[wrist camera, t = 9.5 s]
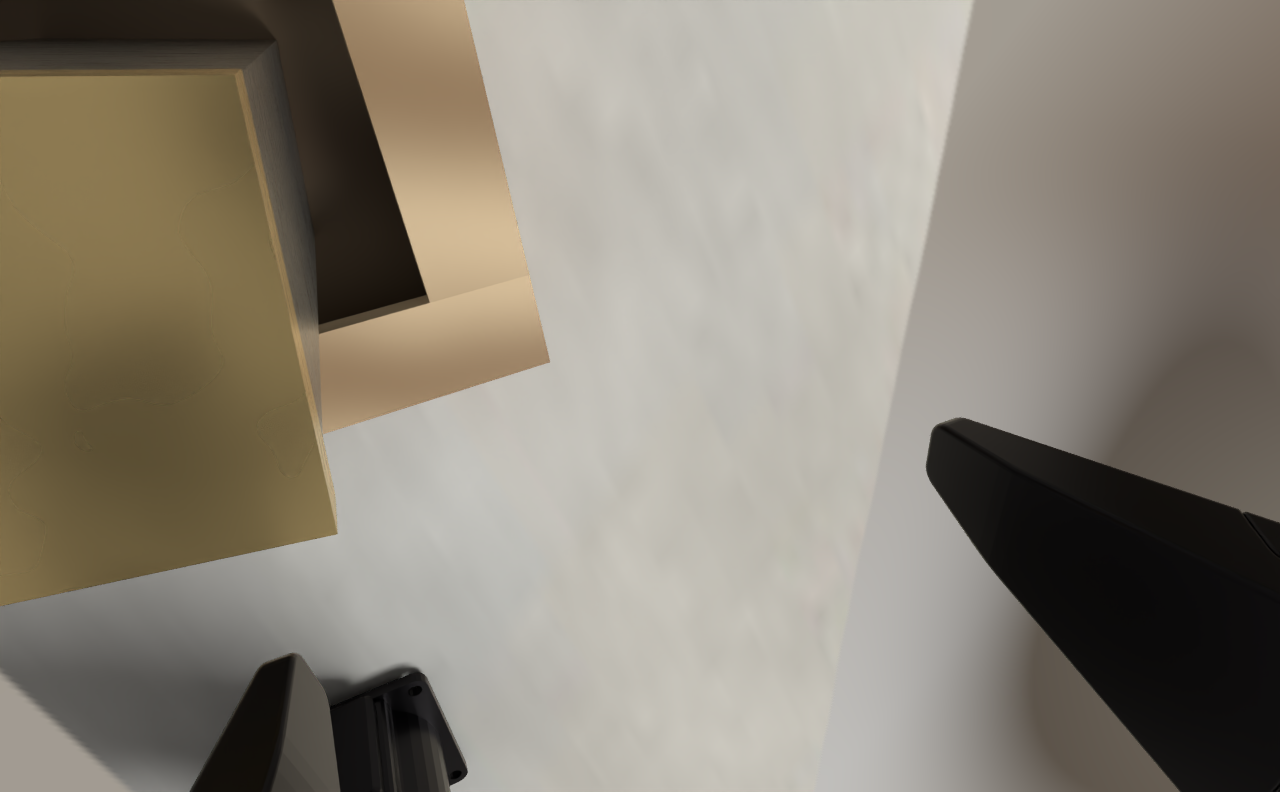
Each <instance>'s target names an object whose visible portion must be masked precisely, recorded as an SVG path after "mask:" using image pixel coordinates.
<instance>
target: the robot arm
mask: <svg viewBox="0 0 1280 792" xmlns="http://www.w3.org/2000/svg"><path fill="white" fill-rule="evenodd" d="M926 471H927V475H928V477H929V480H930V482H931V483H932V485H933V486H934V488H935V489H936V491H937V492H938V494H939V495H940V497H941V498H942V499H943V501H944V502H945V504H946V505H947V506H948V508H949V509H950V511H951V513H952V514H953V515H954V517H955V518H956V520H957V521H958V523H959V524H960V526H961V527H962V529H963V530H964V531H965V533H966V534H967V536H968V537H969V539H970V540H971V542H972V543H973V545H974V546H975V547H976V549H977V550H978V552H979V553H980V554H981V556H982V557H983V559H984V560H985V561H986V563H987V564H988V565H989V566H990V568H991V569H992V570H993V571H994V573H995V574H996V575H997V576H998V578H999V579H1000V580H1001V581H1002V582H1003V584H1004V585H1005V586H1006V587H1007V588H1008V589H1009V591H1010V592H1011V593H1012V594H1013V595H1014V597H1015V598H1016V599H1017V600H1018V601H1019V602H1020V604H1021V605H1022V606H1023V607H1024V608H1025V610H1026V611H1027V612H1028V613H1029V614H1030V615H1031V617H1032V618H1033V619H1034V620H1035V621H1036V622H1037V624H1038V625H1039V626H1040V627H1041V628H1042V629H1043V630H1044V632H1045V633H1046V634H1047V636H1048V637H1049V638H1050V639H1051V640H1052V641H1053V643H1054V644H1055V645H1056V646H1057V647H1058V648H1059V650H1060V651H1061V652H1062V653H1063V654H1064V656H1065V657H1066V658H1067V659H1068V660H1069V661H1070V663H1071V664H1072V665H1073V666H1074V667H1075V668H1076V670H1077V671H1078V672H1079V673H1080V674H1081V676H1082V677H1083V678H1084V679H1085V680H1086V682H1087V683H1088V684H1089V685H1090V686H1091V687H1092V689H1093V690H1094V691H1095V692H1096V693H1097V695H1098V696H1099V697H1100V698H1101V699H1102V700H1103V702H1104V703H1105V704H1106V705H1107V706H1108V707H1109V709H1110V710H1111V711H1112V712H1113V713H1114V715H1115V716H1116V717H1117V718H1118V719H1119V720H1120V721H1121V723H1122V724H1123V725H1124V726H1125V727H1126V729H1127V730H1128V731H1129V732H1130V733H1131V735H1132V736H1133V737H1134V738H1135V739H1136V740H1137V742H1138V743H1139V744H1140V745H1141V746H1142V748H1143V749H1144V750H1145V751H1146V752H1147V753H1148V755H1149V756H1150V757H1151V758H1152V759H1153V761H1154V762H1155V763H1156V764H1157V765H1158V767H1159V768H1160V769H1161V770H1162V771H1163V772H1164V774H1165V775H1166V776H1167V777H1168V778H1169V779H1170V781H1171V782H1172V783H1173V784H1174V785H1175V786H1176V788H1177V789H1178V790H1179V791H1180V792H1280V523H1279V522H1276V521H1273V520H1270V519H1267V518H1264V517H1261V516H1258V515H1255V514H1252V513H1249V512H1243V513H1242V512H1241V511H1240V510H1239V509H1236V508H1234V507H1231V506H1227V505H1224V504H1221V503H1219V502H1215V501H1212V500H1210V499H1206V498H1203V497H1200V496H1197V495H1195V494H1191V493H1188V492H1185V491H1182V490H1179V489H1176V488H1173V487H1170V486H1167V485H1164V484H1161V483H1158V482H1155V481H1152V480H1149V479H1146V478H1143V477H1140V476H1137V475H1134V474H1131V473H1128V472H1125V471H1122V470H1119V469H1116V468H1113V467H1110V466H1107V465H1104V464H1101V463H1098V462H1095V461H1092V460H1089V459H1086V458H1083V457H1080V456H1077V455H1074V454H1071V453H1068V452H1065V451H1062V450H1059V449H1056V448H1053V447H1050V446H1047V445H1044V444H1041V443H1038V442H1035V441H1032V440H1029V439H1026V438H1023V437H1020V436H1017V435H1014V434H1011V433H1008V432H1005V431H1002V430H999V429H996V428H993V427H990V426H987V425H984V424H981V423H978V422H975V421H972V420H969V419H966V418H954V419H951V420H948V421H945V422H943V423H940V424H937V425H936V426H935V427H934V428H933V430H932V432H931V438H930V444H929V449H928V456H927V461H926ZM413 686H417V687H415V688H412V687H413ZM467 773H468V772H467V766H466V761H465V759H464V757H463V755H462V753H461V750H460V748H459V746H458V744H457V742H456V739H455V737H454V735H453V733H452V731H451V729H450V726H449V724H448V722H447V720H446V718H445V716H444V713H443V711H442V709H441V707H440V705H439V703H438V700H437V698H436V696H435V694H434V692H433V690H432V687H431V685H430V683H429V681H428V679H427V677H426V676H425V675H424V674H422V673H413V674H409V675H407V676H405V677H402V678H400V679H397V680H395V681H393V682H390V683H388V684H385V685H383V686H380V687H378V688H376V689H373V690H371V691H368V692H366V693H364V694H361V695H359V696H356V697H354V698H351V699H349V700H347V701H344V702H342V703H339V704H337V705H335V706H332V707H330V708H329V703H328V699H327V696H326V693H325V691H324V688H323V687H322V685H321V684H320V682H319V681H318V679H317V678H316V676H315V675H314V673H313V672H312V671H311V669H310V668H309V666H308V665H307V663H306V662H305V660H304V659H303V658H302V656H301V655H299V654H298V653H290V654H287V655H284V656H282V657H279V658H276V659H273V660H270V661H268V662H265V663H264V664H262V665H261V666H260V667H259V668H258V670H257V671H256V673H255V675H254V676H253V678H252V680H251V682H250V684H249V685H248V687H247V689H246V691H245V693H244V694H243V696H242V698H241V700H240V702H239V703H238V705H237V707H236V709H235V711H234V712H233V714H232V716H231V718H230V720H229V721H228V723H227V725H226V727H225V729H224V730H223V732H222V734H221V736H220V738H219V739H218V741H217V743H216V745H215V747H214V748H213V750H212V752H211V754H210V756H209V757H208V759H207V761H206V763H205V765H204V766H203V768H202V770H201V772H200V774H199V776H198V777H197V779H196V781H195V783H194V785H193V786H192V788H191V790H190V792H451V791H450V785H453V784H455V783H457V782H459V781H461V780H462V779H464V778H465V776H466V775H467Z"/></svg>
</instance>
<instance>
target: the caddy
mask: <svg viewBox="0 0 1280 792" xmlns="http://www.w3.org/2000/svg"><path fill="white" fill-rule="evenodd" d="M35 38H89V39H230V40H277V43H278V48H279V54H280V59H281V64H282V69H283V74H284V79H285V84H286V89H287V94H288V100H289V105H290V110H291V115H292V120H293V125H294V130H295V135H296V141H297V146H298V151H299V156H300V161H301V166H302V171H303V176H304V181H305V187H306V192H307V197H308V202H309V207H310V212H311V217H312V222H313V228H314V233H315V252H316V278H317V303H318V329H319V354H320V380H321V405H322V431H323V434H325V433H328V432H331V431H334V430H337V429H340V428H344V427H347V426H350V425H353V424H356V423H359V422H363V421H366V420H369V419H372V418H375V417H378V416H381V415H385V414H388V413H391V412H394V411H397V410H400V409H404V408H407V407H410V406H413V405H416V404H419V403H422V402H426V401H429V400H432V399H435V398H438V397H441V396H445V395H448V394H451V393H454V392H457V391H460V390H463V389H467V388H470V387H473V386H476V385H479V384H482V383H486V382H489V381H492V380H495V379H498V378H501V377H504V376H508V375H511V374H514V373H517V372H520V371H523V370H527V369H530V368H533V367H536V366H539V365H542V364H545V363H549V362H550V360H549V355H548V351H547V347H546V343H545V339H544V334H543V330H542V326H541V322H540V318H539V313H538V309H537V305H536V301H535V297H534V292H533V288H532V284H531V280H530V276H529V271H528V267H527V263H526V259H525V255H524V251H523V246H522V242H521V238H520V234H519V230H518V225H517V221H516V217H515V213H514V209H513V204H512V200H511V196H510V192H509V188H508V183H507V179H506V175H505V171H504V167H503V162H502V158H501V154H500V150H499V146H498V141H497V137H496V133H495V129H494V125H493V120H492V116H491V112H490V108H489V104H488V100H487V95H486V91H485V87H484V83H483V79H482V74H481V70H480V66H479V62H478V58H477V53H476V49H475V45H474V41H473V37H472V32H471V28H470V24H469V20H468V16H467V11H466V7H465V3H464V0H0V42H3V41H14V40H25V39H35Z"/></svg>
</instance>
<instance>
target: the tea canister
mask: <svg viewBox="0 0 1280 792" xmlns="http://www.w3.org/2000/svg"><path fill="white" fill-rule="evenodd" d="M336 534H338V532H337V515H336V499H335V491H334V487H333V482H332V478H331V473H330V469H329V464H328V460H327V455H326V450H325V446H324V441H323V431H322V405H321V380H320V354H319V329H318V303H317V278H316V252H315V233H314V228H313V222H312V217H311V212H310V207H309V202H308V197H307V192H306V187H305V181H304V176H303V171H302V166H301V161H300V156H299V151H298V146H297V141H296V135H295V130H294V125H293V120H292V115H291V110H290V105H289V100H288V94H287V89H286V84H285V79H284V74H283V69H282V64H281V59H280V54H279V48H278V43H277V40H230V39H89V38H35V39H25V40H14V41H3V42H0V606H3V605H8V604H13V603H17V602H22V601H27V600H31V599H36V598H41V597H46V596H50V595H55V594H60V593H64V592H69V591H74V590H78V589H83V588H88V587H92V586H97V585H102V584H106V583H111V582H116V581H120V580H125V579H130V578H134V577H139V576H144V575H148V574H153V573H158V572H162V571H167V570H172V569H177V568H181V567H186V566H191V565H195V564H200V563H205V562H209V561H214V560H219V559H223V558H228V557H233V556H237V555H242V554H247V553H251V552H256V551H261V550H265V549H270V548H275V547H279V546H284V545H289V544H294V543H298V542H303V541H308V540H312V539H317V538H322V537H326V536H331V535H336Z"/></svg>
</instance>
